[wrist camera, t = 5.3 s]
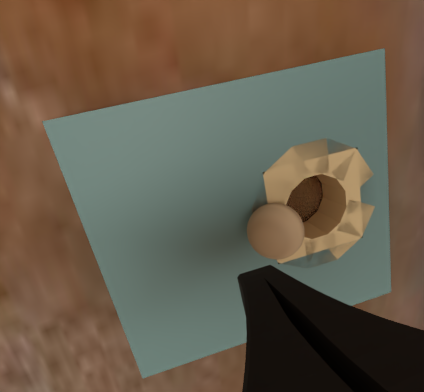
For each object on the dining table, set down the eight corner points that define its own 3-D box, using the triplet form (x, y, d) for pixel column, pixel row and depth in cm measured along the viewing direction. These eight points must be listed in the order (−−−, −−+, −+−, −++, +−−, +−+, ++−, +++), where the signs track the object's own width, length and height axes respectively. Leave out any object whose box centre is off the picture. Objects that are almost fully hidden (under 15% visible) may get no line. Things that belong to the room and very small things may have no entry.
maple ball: (232, 217, 13) (253, 197, 16) (244, 269, 14) (263, 242, 16) (290, 213, 12) (304, 193, 14) (302, 272, 12) (313, 243, 15)
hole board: (352, 59, 17) (384, 48, 14) (365, 273, 21) (391, 291, 19) (61, 122, 14) (42, 121, 12) (144, 347, 19) (142, 378, 17)
